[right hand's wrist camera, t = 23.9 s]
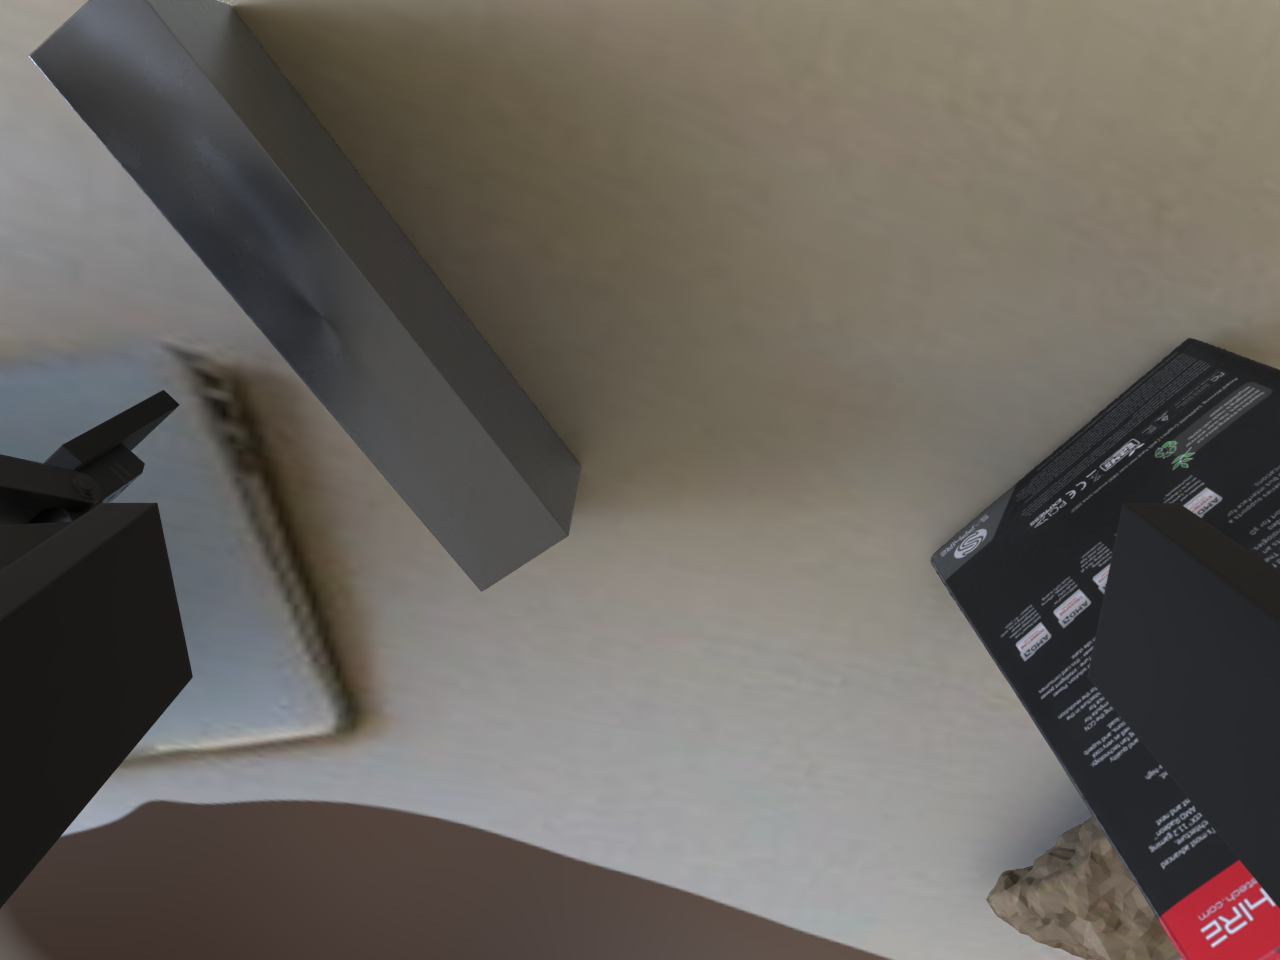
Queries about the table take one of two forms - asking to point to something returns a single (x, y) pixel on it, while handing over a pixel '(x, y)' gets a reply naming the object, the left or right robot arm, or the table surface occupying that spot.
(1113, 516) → the graphics card box
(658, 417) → the table surface
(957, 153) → the table surface
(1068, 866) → the stone
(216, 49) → the bar
